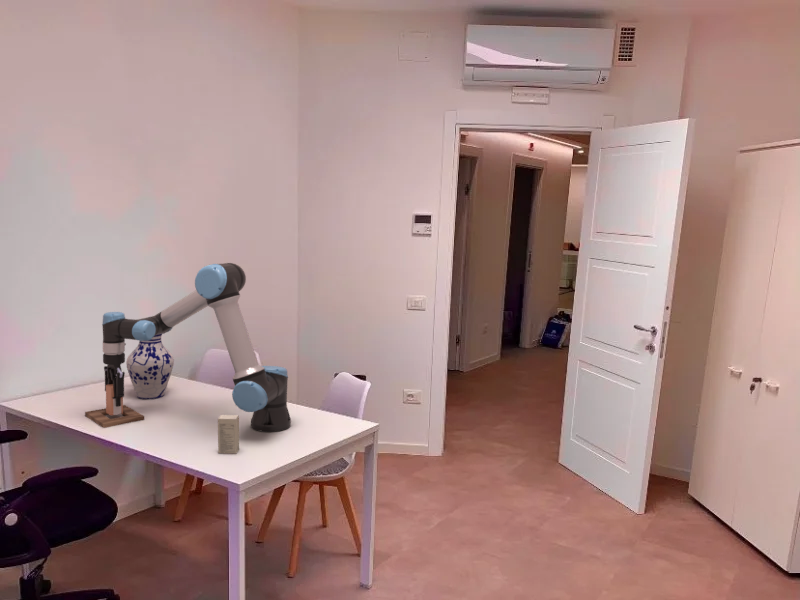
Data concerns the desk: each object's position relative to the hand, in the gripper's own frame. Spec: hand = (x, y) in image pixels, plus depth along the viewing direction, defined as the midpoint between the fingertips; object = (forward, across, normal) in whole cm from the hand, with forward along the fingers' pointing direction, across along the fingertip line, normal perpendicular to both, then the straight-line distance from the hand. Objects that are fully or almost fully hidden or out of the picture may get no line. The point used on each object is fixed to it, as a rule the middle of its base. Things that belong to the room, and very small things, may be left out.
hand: (114, 412), depth 231 cm
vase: (+2, +20, -23) cm, 31 cm away
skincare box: (+2, -57, -15) cm, 59 cm away
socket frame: (+2, 0, 0) cm, 2 cm away
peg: (0, 0, 0) cm, 0 cm away
